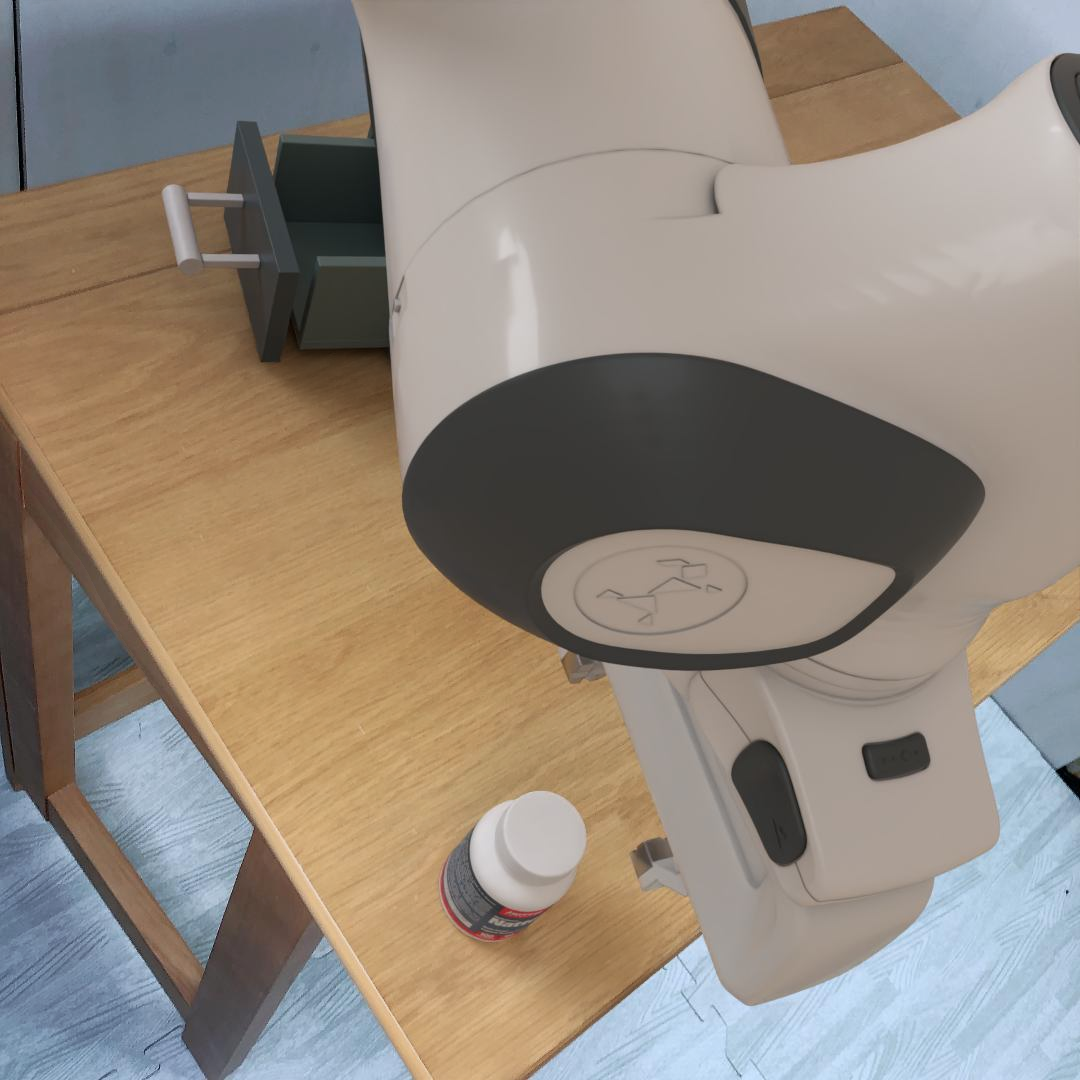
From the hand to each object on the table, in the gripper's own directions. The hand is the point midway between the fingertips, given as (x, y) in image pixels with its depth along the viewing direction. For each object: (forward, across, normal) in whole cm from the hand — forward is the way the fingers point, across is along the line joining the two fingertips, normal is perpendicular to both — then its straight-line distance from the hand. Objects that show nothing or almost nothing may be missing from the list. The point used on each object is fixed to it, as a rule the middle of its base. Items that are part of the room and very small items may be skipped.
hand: (614, 763), depth 45 cm
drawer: (+16, -40, 0) cm, 43 cm away
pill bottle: (+17, 0, 0) cm, 17 cm away
